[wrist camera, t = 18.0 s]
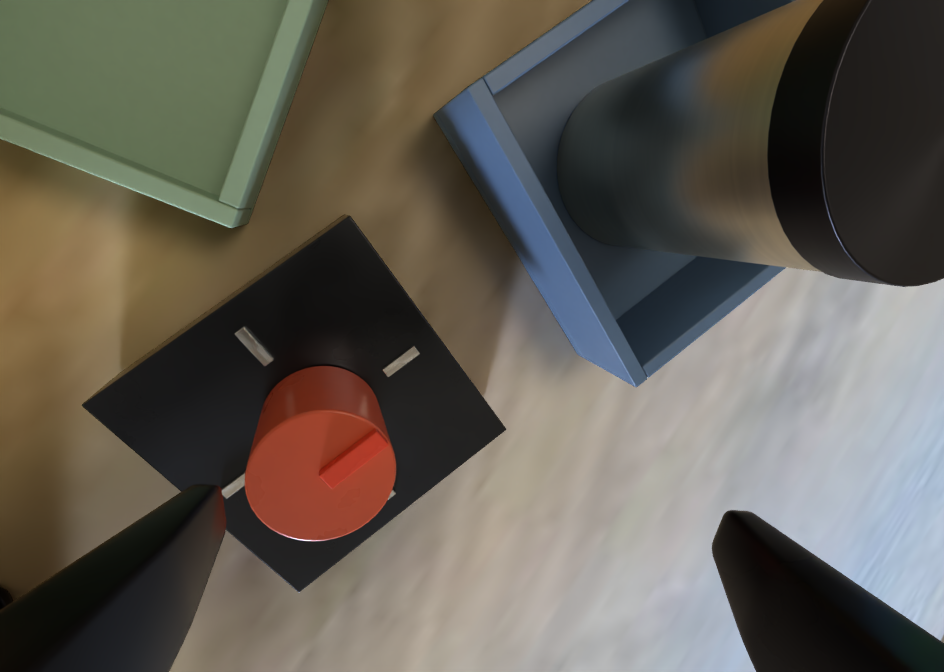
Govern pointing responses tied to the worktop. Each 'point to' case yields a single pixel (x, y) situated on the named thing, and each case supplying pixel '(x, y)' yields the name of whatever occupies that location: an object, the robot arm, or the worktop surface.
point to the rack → (157, 91)
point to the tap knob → (320, 456)
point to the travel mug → (776, 145)
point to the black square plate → (283, 353)
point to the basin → (540, 202)
